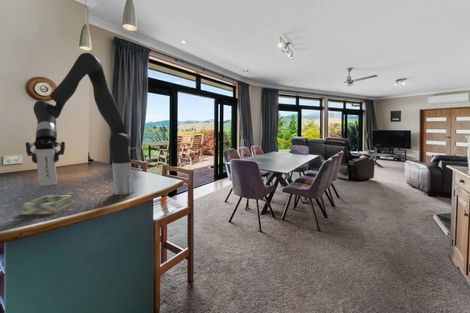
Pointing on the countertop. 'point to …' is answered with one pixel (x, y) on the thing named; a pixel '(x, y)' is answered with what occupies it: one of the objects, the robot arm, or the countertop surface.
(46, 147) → the travel mug
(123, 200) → the countertop surface
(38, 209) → the green square tray
